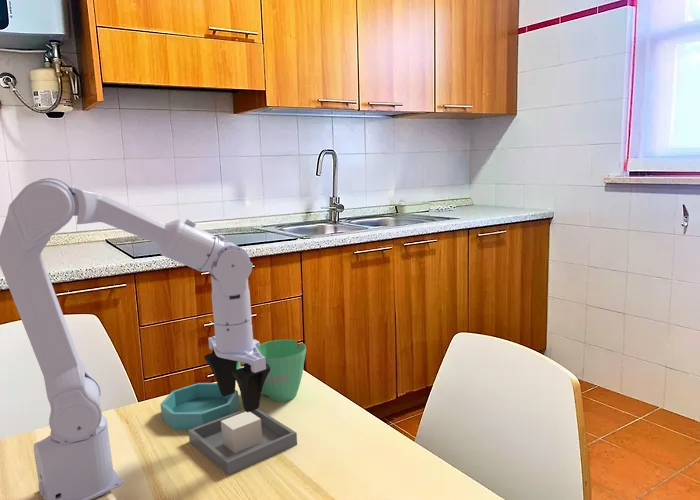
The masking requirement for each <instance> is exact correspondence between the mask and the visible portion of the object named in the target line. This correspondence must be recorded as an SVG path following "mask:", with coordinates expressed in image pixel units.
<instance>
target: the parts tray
mask: <svg viewBox="0 0 700 500" xmlns="http://www.w3.org/2000/svg"><path fill="white" fill-rule="evenodd" d="M243 412H246V411H245V409H244V408H243V409H242V410H238V411H236V412H235V413H233V414H230V415H227V416H225V417H222V418H219V419H217V420H214V421H211V422H209V423H206V424H203V425H201V426H198V427H195V428H193V429H190V430H187V432H188V439H189V441H188V442H189V443H190V444H192V445H193V446H194V447H195V448H196V449H197V450H199V452H200V453H202V454H203V455H204V456H205V457H206V458H207V459H209V460H210V461H211V462H212V463H213V464H214V465H215V466H217V467H218V468H219V469H220V470H221V471H222V472H224V473H225V474H226V475H227V476H229V477H230V476H231V475H234V474H236V473H238V472H240V471H242V470H244V469H247V468H249V467H251V466H253V465H256V464H257V463H259V462H262V461H264V460H266V459H268V458H271V457H273V456H275V455H277V454H280V453H282V452H284V451H287V450H288V449H289V450H290V448H293V447H295V446H298V437H297V433H298V432H296V431H294V430H293V429H292V428H289V427H288V426H287V425H285V424H283V423H282V422H280V421H279V420H278V419H276V418H274V417H272V416H271V415H269V413H266V412H264V411H263V410H261V409H260V408H258V409H256V410H253V411H250V412H251V413H253V414H254V415H256V416H257V417H259V418H260V419H261V427H262V441H263V442H261V443H259V444H256V445H254V446H252V447H249V448H247V449H245V450H242V451H240V452H238V453H234V452H232V451H231V450H230V449H229V448H227V447H226V446H225V445H224V444H223V441H222V429H221V421H222V420H225V419H227V418H230V417H233V416H235V415H238V414H240V413H243Z"/></svg>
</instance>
